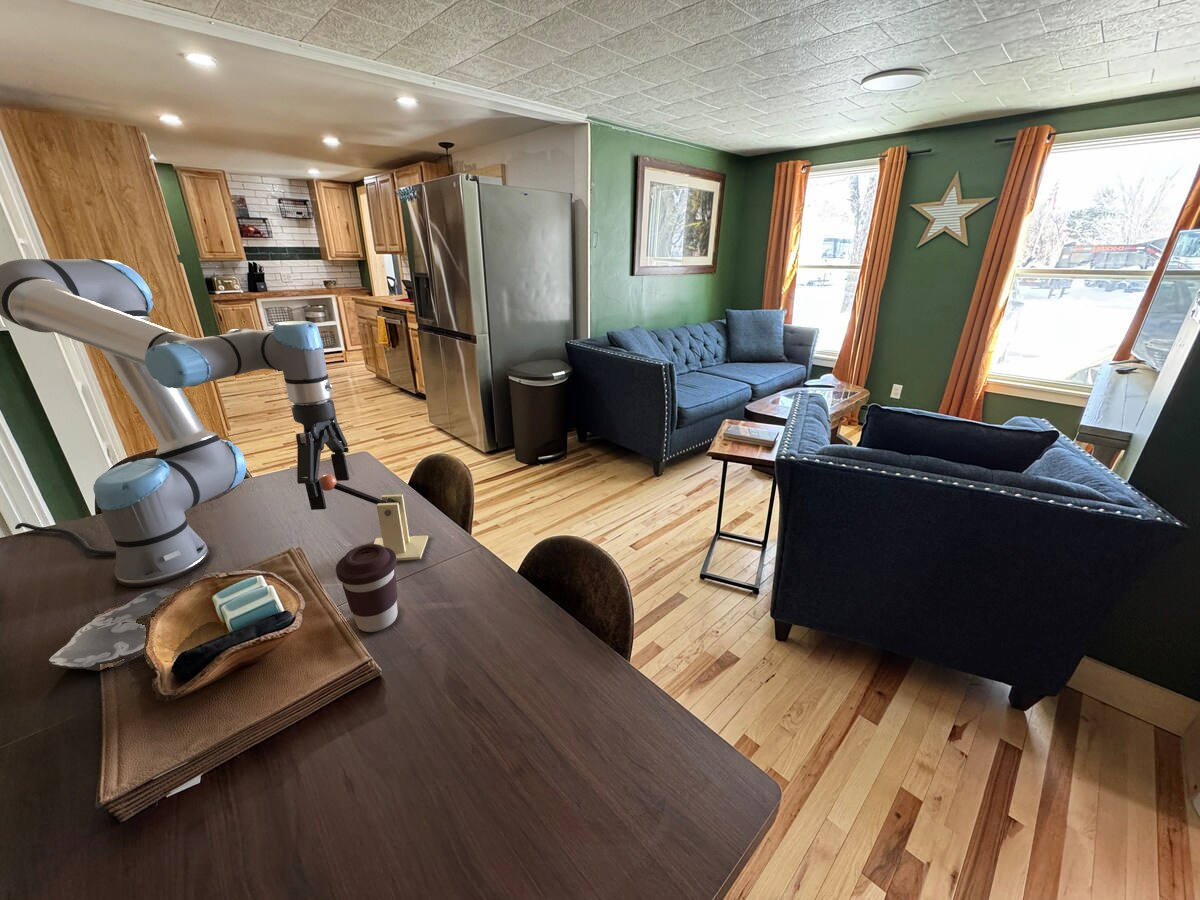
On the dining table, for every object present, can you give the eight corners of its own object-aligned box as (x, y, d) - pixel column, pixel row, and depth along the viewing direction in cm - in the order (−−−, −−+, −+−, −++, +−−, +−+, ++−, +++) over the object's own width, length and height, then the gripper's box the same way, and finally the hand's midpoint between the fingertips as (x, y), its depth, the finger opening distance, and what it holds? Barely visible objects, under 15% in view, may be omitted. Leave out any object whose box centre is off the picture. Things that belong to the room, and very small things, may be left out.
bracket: (365, 564, 106) (355, 510, 101) (377, 542, 115) (368, 491, 109) (420, 561, 108) (413, 508, 103) (428, 539, 116) (421, 489, 111)
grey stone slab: (139, 682, 76) (132, 669, 75) (35, 679, 76) (27, 665, 75) (230, 601, 94) (225, 588, 93) (146, 598, 94) (140, 586, 93)
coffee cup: (384, 642, 85) (371, 574, 80) (336, 633, 87) (320, 566, 81) (415, 606, 94) (405, 542, 89) (371, 598, 96) (358, 535, 90)
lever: (312, 489, 101) (318, 476, 100) (319, 482, 104) (324, 469, 103) (392, 519, 106) (398, 506, 105) (396, 511, 109) (402, 498, 108)
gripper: (304, 419, 85) (327, 522, 93) (352, 384, 108) (367, 469, 116) (259, 420, 84) (286, 523, 92) (317, 385, 107) (334, 470, 115)
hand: (331, 493), depth 104 cm, fingers open, 13 cm apart
